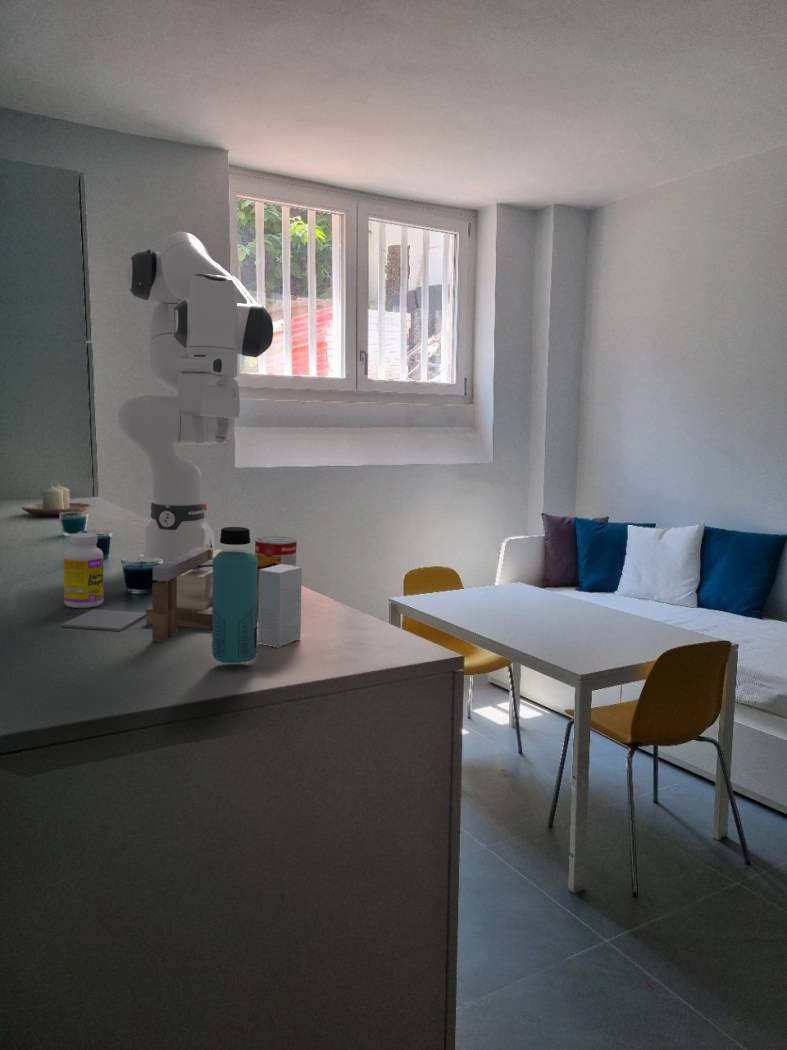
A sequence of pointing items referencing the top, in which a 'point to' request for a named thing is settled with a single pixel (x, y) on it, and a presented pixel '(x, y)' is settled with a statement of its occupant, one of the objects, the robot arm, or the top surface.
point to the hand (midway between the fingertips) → (211, 442)
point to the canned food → (274, 552)
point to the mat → (105, 620)
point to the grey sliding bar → (182, 564)
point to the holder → (172, 612)
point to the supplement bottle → (83, 572)
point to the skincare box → (279, 605)
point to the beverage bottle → (234, 600)
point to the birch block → (195, 589)
